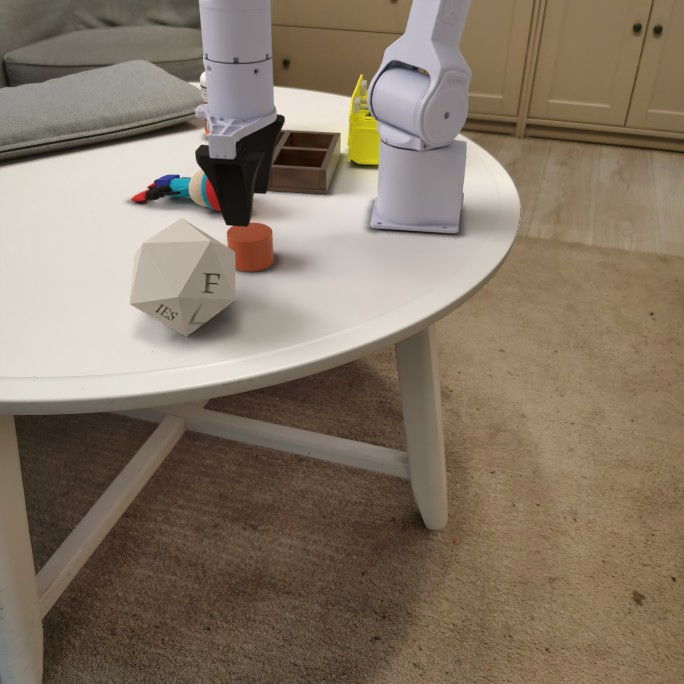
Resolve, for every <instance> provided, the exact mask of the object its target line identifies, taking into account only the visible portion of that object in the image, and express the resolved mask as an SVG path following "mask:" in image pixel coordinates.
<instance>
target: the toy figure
mask: <svg viewBox="0 0 684 684" xmlns="http://www.w3.org/2000/svg"><path fill="white" fill-rule="evenodd" d="M146 188H147V190H143V191H141V192H139V193H137V194H135V195H134V196H133V197H132V198H131V199H130V200H131V201H132V202H135V203H136V202H137V203H138V202H140V203H141V202H143V201H145V200H146V199H147V200H149V201H158V200H159V199H160V198H164V197H165V196H166V197H168V196H169V197H171V198H191V200H192V201H193V202H194V203H195V204H197V205H199V206H200V207H203V208H204V207H206V208H209V209H211V210H214V211H216V212H221V210H220V207H219V204H218V201H217V198H216V195H215V192H214V190H213V188H212V185H211V183H210V182H209V180H208V178H207V176H206V175H205V173H204V172H203V170H202V169H200V170H198V171H196V173H195V172H194V174H193V176H192V177H189V176H181V175H180V174H165V175H163V176H160V177H159V178H156V179H154V180H153V182H152V183H151V184H149V185H148V186H147V187H146ZM254 195H255V193H253V196H254Z"/></svg>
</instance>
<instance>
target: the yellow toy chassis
mask: <svg viewBox="0 0 684 684" xmlns="http://www.w3.org/2000/svg"><path fill="white" fill-rule="evenodd" d="M367 94H368V80H367V79H364V76H363V74H360V76H359V78H358V80H357V83H356V85H355V87H354V90H353V92H352V95H351V98H350V104H349V114H348V137H347V147H348V151H347V152H348V153H347V154H348V155H347V162H348V163H351V161H353V162H355V163H356V164H358V165H364V166H372V165H375V166H379V148H380V133H379V132H377V121H376V120H375V119H374V118H373V117H372V116H371V114H370V112H369V109H368V105H367Z"/></svg>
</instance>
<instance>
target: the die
mask: <svg viewBox="0 0 684 684" xmlns="http://www.w3.org/2000/svg"><path fill="white" fill-rule="evenodd" d="M132 265H133V266H132V273H131V274H132V276H131V285H130V295H129V296H130V297H129V305H130V306H132V307H133V308H136V309H137V310H139V311H141V312H142V313H144V314H146V315H147V316H149V317H151V318H153V319H154V320H156V321H159V322H160V323H161V324H163V325H165V326H166V327H169V328H170V329H172V330H174V331H175V332H177V333H179V334H180V335H183V336H184V337H186V338H187V337H188V336H190V335H191V334H193V333H194V332H195V331H196V330H198V329H199V328H200V327H202V326H203V325H204V324H206V323H207V322H208V321H210V320H211V319H212V318H214V317H215V316H216V315H218V314H219V313H220V312H222V311H223V310H224V309H225V308H227V307H228V306H229V305H231V304H232V303H234V302H235V301H236V300H237V299H236V298H237V297H236V295H237V294H236V293H237V292H236V291H237V290H236V288H237V287H236V285H237V283H236V279H237V278H236V269H235V251H233V250H232V249H230V248H228V245H225V244H223V243H222V242H221V241H219V240H218V239H216V238H215V237H213V236H211V235H209V234H208V233H207V232H205V231H204V230H202V229H200V228H198V227H197V226H195V225H194V224H192V223H191V222H189V221H188V220H186V219H184V218H182V217H180V218H179V219H178V220H176V221H175V222H173V223H172V224H170V225H168V226H167V227H165V228H164V229H162V230H161V231H159V232H158V233H156V234H154V235H153V236H151V237H150V238H148V239H147V240H145V241H144V242H142V243H141V244H140V247H139V248H138V249H137V251H136V252H135V254H134V256H133V264H132Z"/></svg>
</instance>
